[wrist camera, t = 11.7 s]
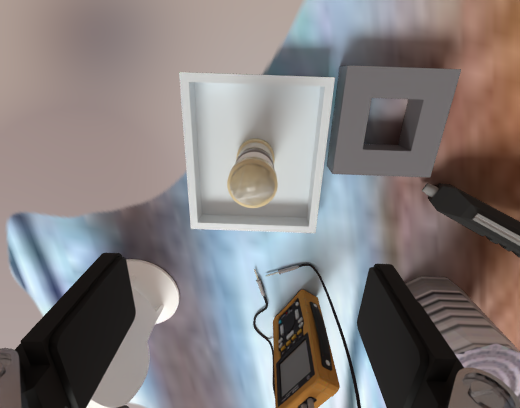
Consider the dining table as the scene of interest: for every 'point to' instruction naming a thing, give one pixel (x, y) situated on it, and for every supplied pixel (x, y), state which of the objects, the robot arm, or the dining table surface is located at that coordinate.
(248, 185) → the cylinder
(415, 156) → the grey flat square block
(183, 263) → the dining table surface
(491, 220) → the gun
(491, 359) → the can
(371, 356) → the robot arm
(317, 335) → the multimeter
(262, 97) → the parts tray
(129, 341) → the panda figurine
